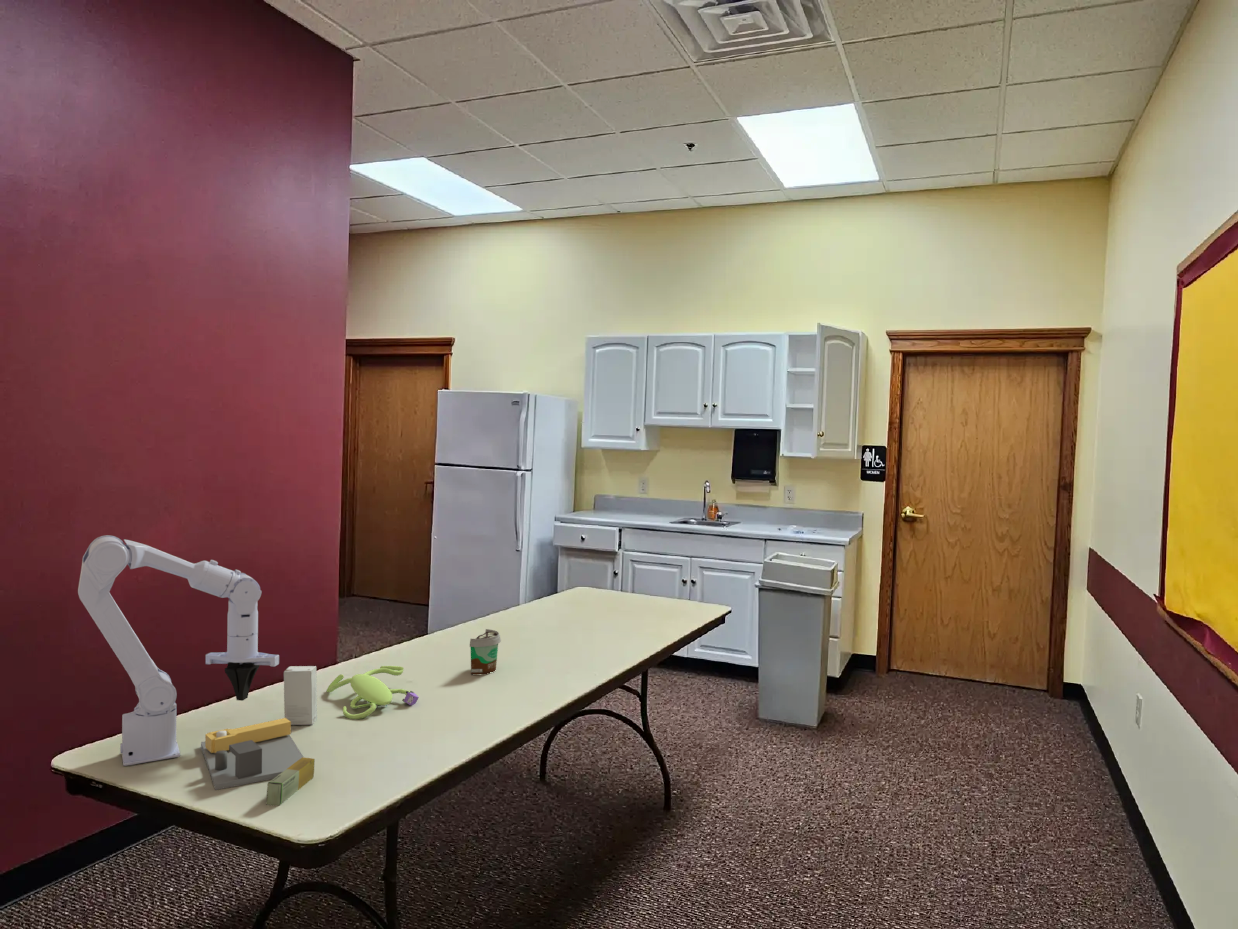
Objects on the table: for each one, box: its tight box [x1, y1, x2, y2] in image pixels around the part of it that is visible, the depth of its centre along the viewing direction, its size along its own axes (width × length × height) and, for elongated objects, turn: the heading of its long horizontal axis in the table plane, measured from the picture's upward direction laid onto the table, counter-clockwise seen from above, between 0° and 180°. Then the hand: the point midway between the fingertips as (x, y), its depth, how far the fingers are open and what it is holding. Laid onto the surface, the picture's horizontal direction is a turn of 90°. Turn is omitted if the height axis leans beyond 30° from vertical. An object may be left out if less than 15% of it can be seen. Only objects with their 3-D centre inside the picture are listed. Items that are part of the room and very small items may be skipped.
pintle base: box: [200, 730, 304, 791], centre depth 159 cm, size 16×23×6 cm
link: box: [204, 717, 292, 753], centre depth 164 cm, size 15×5×3 cm, turn 133°
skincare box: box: [283, 665, 318, 726], centre depth 179 cm, size 6×4×12 cm
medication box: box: [265, 756, 315, 807], centre depth 145 cm, size 12×3×4 cm, turn 173°
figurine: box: [326, 665, 419, 720], centre depth 196 cm, size 18×27×6 cm
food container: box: [469, 628, 502, 675], centre depth 221 cm, size 12×6×10 cm, turn 168°
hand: (242, 699), depth 168 cm, fingers closed
